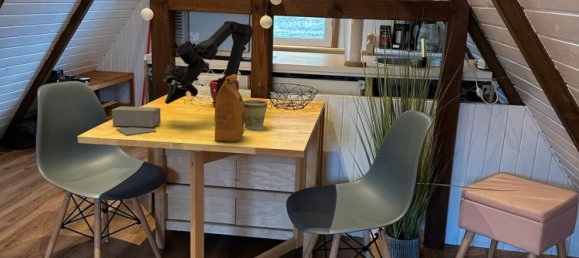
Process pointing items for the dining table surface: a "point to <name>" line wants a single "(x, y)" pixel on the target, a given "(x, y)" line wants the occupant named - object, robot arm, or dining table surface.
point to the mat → (135, 130)
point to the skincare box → (136, 116)
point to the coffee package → (229, 112)
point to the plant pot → (213, 87)
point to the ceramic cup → (254, 114)
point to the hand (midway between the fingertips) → (165, 103)
